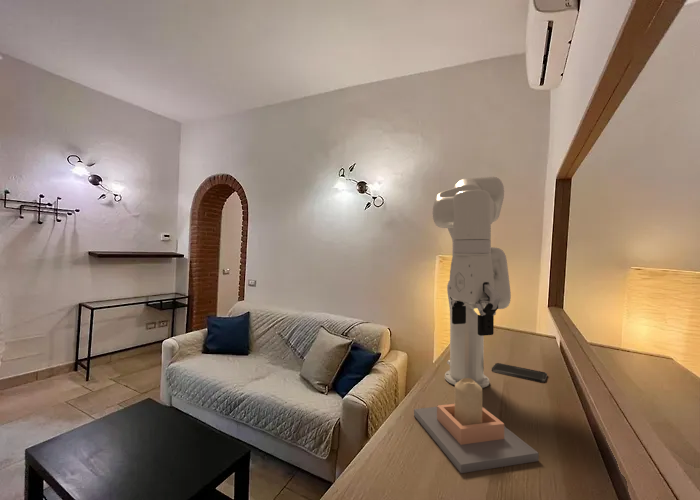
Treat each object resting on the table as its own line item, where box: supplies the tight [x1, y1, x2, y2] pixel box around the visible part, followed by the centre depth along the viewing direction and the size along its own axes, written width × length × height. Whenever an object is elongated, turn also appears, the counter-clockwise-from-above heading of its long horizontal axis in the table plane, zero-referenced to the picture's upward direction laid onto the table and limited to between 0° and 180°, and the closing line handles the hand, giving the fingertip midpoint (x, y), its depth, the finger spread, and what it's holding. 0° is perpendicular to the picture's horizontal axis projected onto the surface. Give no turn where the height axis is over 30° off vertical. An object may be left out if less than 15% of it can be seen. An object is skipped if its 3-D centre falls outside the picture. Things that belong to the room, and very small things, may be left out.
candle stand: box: [413, 403, 540, 474], centre depth 67 cm, size 20×16×4 cm
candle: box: [454, 378, 483, 426], centre depth 67 cm, size 6×6×10 cm
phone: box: [491, 362, 548, 383], centre depth 102 cm, size 8×1×15 cm
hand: (471, 328), depth 68 cm, fingers open, 9 cm apart
